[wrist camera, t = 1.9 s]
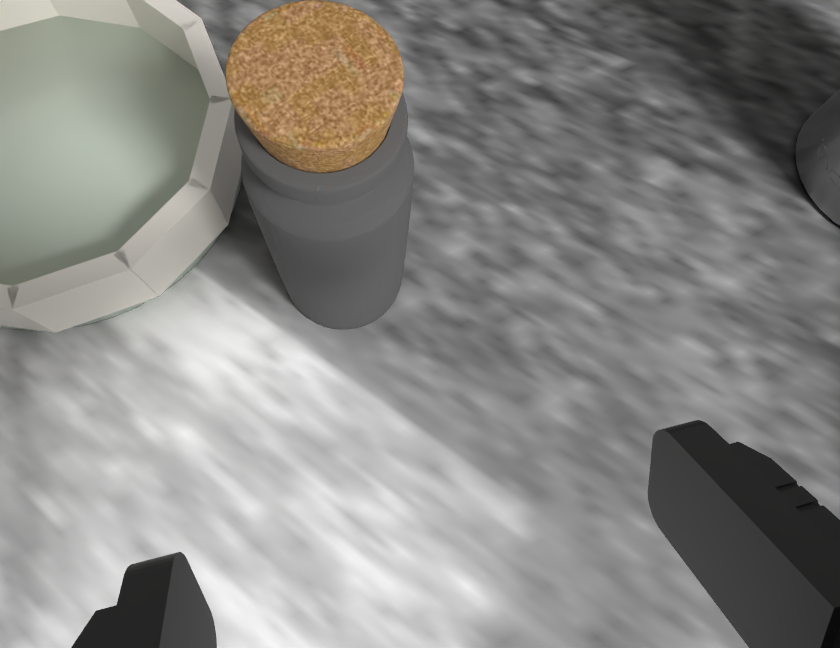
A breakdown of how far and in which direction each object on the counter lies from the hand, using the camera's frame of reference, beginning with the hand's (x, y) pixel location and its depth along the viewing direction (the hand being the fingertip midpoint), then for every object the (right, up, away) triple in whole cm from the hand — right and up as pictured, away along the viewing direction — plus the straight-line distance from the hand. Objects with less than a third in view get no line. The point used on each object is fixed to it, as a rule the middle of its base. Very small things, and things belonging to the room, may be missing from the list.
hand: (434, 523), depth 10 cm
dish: (-18, +12, +21) cm, 30 cm away
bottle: (-4, +6, +20) cm, 21 cm away
